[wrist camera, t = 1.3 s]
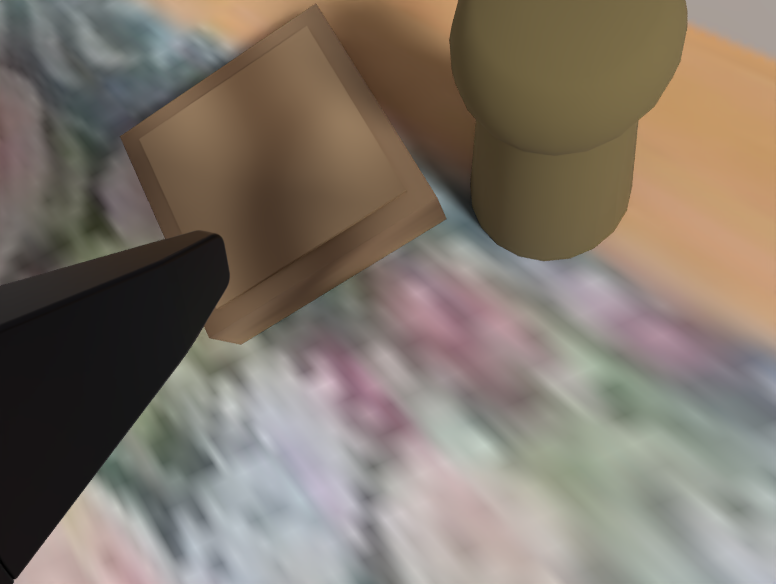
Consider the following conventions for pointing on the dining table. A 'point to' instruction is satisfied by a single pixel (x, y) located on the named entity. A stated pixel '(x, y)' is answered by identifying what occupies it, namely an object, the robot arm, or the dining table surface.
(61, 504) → the robot arm
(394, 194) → the walnut plinth
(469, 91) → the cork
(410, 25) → the dining table surface
